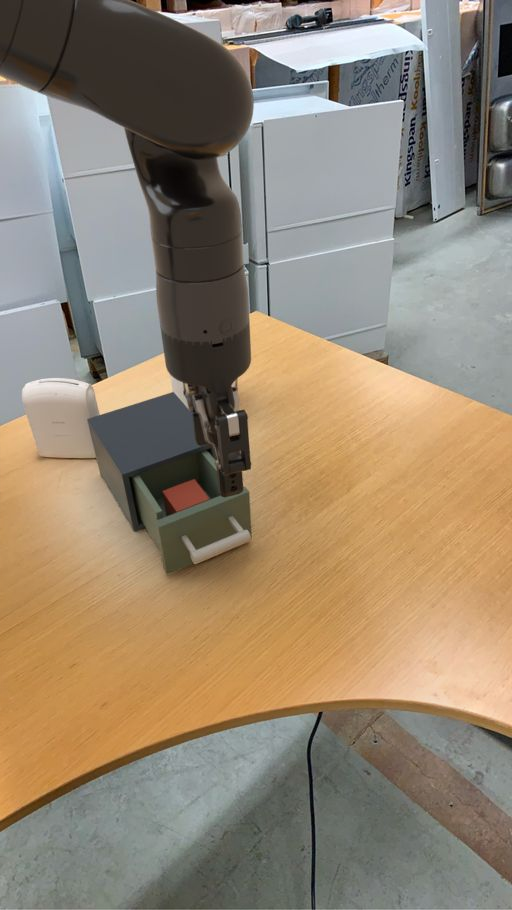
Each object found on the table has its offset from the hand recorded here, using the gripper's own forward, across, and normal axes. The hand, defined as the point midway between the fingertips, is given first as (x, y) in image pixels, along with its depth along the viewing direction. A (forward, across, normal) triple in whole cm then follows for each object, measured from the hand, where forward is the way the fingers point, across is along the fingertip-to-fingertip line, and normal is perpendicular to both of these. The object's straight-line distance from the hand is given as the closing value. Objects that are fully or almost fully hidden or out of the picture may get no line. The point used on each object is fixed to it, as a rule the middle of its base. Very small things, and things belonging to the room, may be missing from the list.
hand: (218, 466), depth 65 cm
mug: (+18, -35, +8) cm, 40 cm away
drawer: (+17, -9, -2) cm, 19 cm away
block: (+16, -10, -2) cm, 19 cm away
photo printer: (+18, -33, -14) cm, 40 cm away
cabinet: (+18, -21, -4) cm, 28 cm away
